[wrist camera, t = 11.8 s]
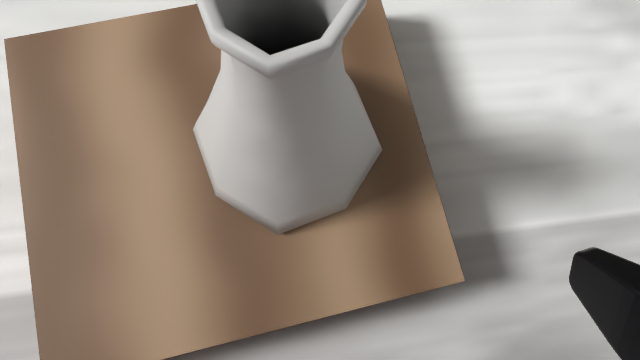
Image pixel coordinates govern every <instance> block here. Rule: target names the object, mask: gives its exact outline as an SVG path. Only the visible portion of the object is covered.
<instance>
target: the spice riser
mask: <svg viewBox="0 0 640 360" xmlns="http://www.w3.org/2000/svg"><path fill="white" fill-rule="evenodd" d="M4 42H5V51H6V60H7V69H8V78H9V87H10V96H11V105H12V114H13V123H14V132H15V141H16V149H17V158H18V167H19V176H20V185H21V194H22V203H23V212H24V221H25V230H26V239H27V248H28V257H29V266H30V275H31V284H32V292H33V301H34V310H35V319H36V328H37V337H38V346H39V355H40V360H162V359H166V358H170V357H173V356H177V355H181V354H185V353H189V352H193V351H197V350H200V349H204V348H208V347H212V346H216V345H220V344H224V343H227V342H231V341H235V340H239V339H243V338H247V337H251V336H254V335H258V334H262V333H266V332H270V331H274V330H278V329H281V328H285V327H289V326H293V325H297V324H301V323H305V322H309V321H312V320H316V319H320V318H324V317H328V316H332V315H336V314H339V313H343V312H347V311H351V310H355V309H359V308H363V307H366V306H370V305H374V304H378V303H382V302H386V301H390V300H393V299H397V298H401V297H405V296H409V295H413V294H417V293H420V292H424V291H428V290H432V289H436V288H440V287H444V286H447V285H451V284H455V283H459V282H463V281H465V280H464V276H463V273H462V270H461V266H460V263H459V259H458V256H457V253H456V249H455V246H454V243H453V239H452V236H451V233H450V229H449V226H448V223H447V219H446V216H445V213H444V209H443V206H442V203H441V199H440V196H439V193H438V189H437V186H436V183H435V179H434V176H433V173H432V169H431V166H430V162H429V159H428V156H427V152H426V149H425V146H424V142H423V139H422V136H421V132H420V129H419V126H418V122H417V119H416V116H415V112H414V109H413V106H412V102H411V99H410V96H409V92H408V89H407V86H406V82H405V79H404V76H403V72H402V69H401V65H400V62H399V59H398V55H397V52H396V49H395V45H394V42H393V39H392V35H391V32H390V29H389V25H388V22H387V19H386V15H385V12H384V9H383V5H382V2H381V0H367V4H366V6H365V8H364V9H363V11H362V12H361V14H360V15H359V16H358V18H357V19H356V21H355V22H354V24H353V25H352V27H351V28H350V30H349V31H348V33H347V34H346V36H345V37H344V39H343V45H342V55H343V61H344V68H345V71H346V73H347V74H348V76H349V77H350V79H351V80H352V82H353V83H354V85H355V87H356V89H357V91H358V94H359V96H360V98H361V101H362V103H363V105H364V108H365V110H366V112H367V115H368V117H369V120H370V122H371V124H372V127H373V129H374V131H375V134H376V136H377V138H378V141H379V143H380V145H381V148H382V151H381V153H380V155H379V156H378V158H377V159H376V161H375V163H374V164H373V166H372V167H371V169H370V171H369V172H368V174H367V176H366V177H365V179H364V180H363V182H362V184H361V185H360V187H359V189H358V190H357V192H356V193H355V195H354V197H353V198H352V200H351V202H350V203H349V205H348V206H347V208H346V209H344V210H342V211H339V212H336V213H334V214H331V215H328V216H326V217H323V218H320V219H318V220H315V221H313V222H310V223H307V224H305V225H302V226H299V227H297V228H294V229H292V230H289V231H286V232H284V233H281V234H278V235H277V234H275V233H274V232H272V231H271V230H269V229H267V228H266V227H264V226H263V225H261V224H260V223H258V222H256V221H255V220H253V219H252V218H250V217H249V216H247V215H245V214H244V213H242V212H241V211H239V210H238V209H236V208H234V207H233V206H231V205H230V204H228V203H227V202H225V201H223V200H222V199H220V198H219V197H217V196H216V195H215V192H214V189H213V186H212V183H211V181H210V178H209V175H208V172H207V169H206V166H205V163H204V160H203V157H202V155H201V152H200V149H199V146H198V143H197V140H196V137H195V134H194V131H193V128H194V126H195V124H196V122H197V120H198V118H199V116H200V114H201V112H202V111H203V109H204V107H205V105H206V103H207V101H208V99H209V96H210V94H211V92H212V89H213V87H214V84H215V82H216V79H217V77H218V75H219V72H220V70H221V50H220V49H219V48H217V47H216V46H215V45H214V44H213V43H212V42H211V40H210V38H209V35H208V32H207V30H206V27H205V24H204V21H203V19H202V16H201V13H200V11H199V8H198V5H197V4H195V5H189V6H184V7H178V8H173V9H167V10H162V11H156V12H151V13H146V14H140V15H135V16H129V17H124V18H118V19H113V20H107V21H102V22H96V23H91V24H85V25H80V26H74V27H69V28H63V29H58V30H52V31H47V32H41V33H36V34H30V35H25V36H19V37H14V38H8V39H4Z"/></svg>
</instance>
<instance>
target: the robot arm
mask: <svg viewBox="0 0 640 360" xmlns="http://www.w3.org/2000/svg"><path fill="white" fill-rule="evenodd" d="M569 282H570V285H571V287H572V289H573V291H574V292H575V294H576V295H577V297H578V298H579V300H580V301H581V303H582V304H583V306H584V307H585V309H586V310H587V311H588V313H589V314H590V316H591V317H592V319H593V320H594V322H595V323H596V325H597V326H598V328H599V329H600V331H601V332H602V333H603V335H604V336H605V338H606V339H607V341H608V342H609V344H610V345H611V346H612V348H613V349H614V350H615V352H616V353H617V354H618V356H619V357H620V358H621V359H622V360H640V265H639V264H636V263H634V262H631V261H629V260H626V259H624V258H621V257H619V256H616V255H614V254H611V253H609V252H606V251H604V250H601V249H599V248H594V247H592V248H588V249H585V250H582V251H578V252H576V253H575V254H574V257H573V261H572V266H571V270H570V275H569Z"/></svg>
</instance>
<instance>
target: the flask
mask: <svg viewBox="0 0 640 360" xmlns="http://www.w3.org/2000/svg"><path fill="white" fill-rule="evenodd" d="M196 2H197V5H198V8H199V11H200V13H201V16H202V19H203V21H204V24H205V27H206V30H207V32H208V35H209V38H210V40H211V42H212V43H213V44H214V45H215V46H216V47H217V48H219V49H220V50H221V70H220V72H219V75H218V77H217V79H216V82H215V84H214V87H213V89H212V92H211V94H210V96H209V99H208V101H207V103H206V105H205V107H204V109H203V111H202V112H201V114H200V116H199V118H198V120H197V122H196V124H195V126H194V128H193V131H194V134H195V137H196V140H197V143H198V146H199V149H200V152H201V155H202V157H203V160H204V163H205V166H206V169H207V172H208V175H209V178H210V181H211V183H212V186H213V189H214V192H215V195H216V196H217V197H219V198H220V199H222V200H223V201H225V202H227V203H228V204H230V205H231V206H233V207H234V208H236V209H238V210H239V211H241V212H242V213H244V214H245V215H247V216H249V217H250V218H252V219H253V220H255V221H256V222H258V223H260V224H261V225H263V226H264V227H266V228H267V229H269V230H271V231H272V232H274V233H275V234H277V235H278V234H281V233H284V232H286V231H289V230H292V229H294V228H297V227H299V226H302V225H305V224H307V223H310V222H313V221H315V220H318V219H320V218H323V217H326V216H328V215H331V214H334V213H336V212H339V211H342V210H344V209H346V208H347V206H348V205H349V203H350V202H351V200H352V198H353V197H354V195H355V193H356V192H357V190H358V189H359V187H360V185H361V184H362V182H363V180H364V179H365V177H366V176H367V174H368V172H369V171H370V169H371V167H372V166H373V164H374V163H375V161H376V159H377V158H378V156H379V155H380V153H381V151H382V148H381V145H380V143H379V141H378V138H377V136H376V134H375V131H374V129H373V127H372V124H371V122H370V120H369V117H368V115H367V112H366V110H365V108H364V105H363V103H362V101H361V98H360V96H359V94H358V91H357V89H356V87H355V85H354V83H353V82H352V80H351V79H350V77H349V76H348V74H347V73H346V71H345V68H344V61H343V55H342V45H343V39H344V37H345V36H346V34H347V33H348V31H349V30H350V28H351V27H352V25H353V24H354V22H355V21H356V19H357V18H358V16H359V15H360V14H361V12H362V11H363V9H364V8H365V6H366V4H367V0H196Z"/></svg>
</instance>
